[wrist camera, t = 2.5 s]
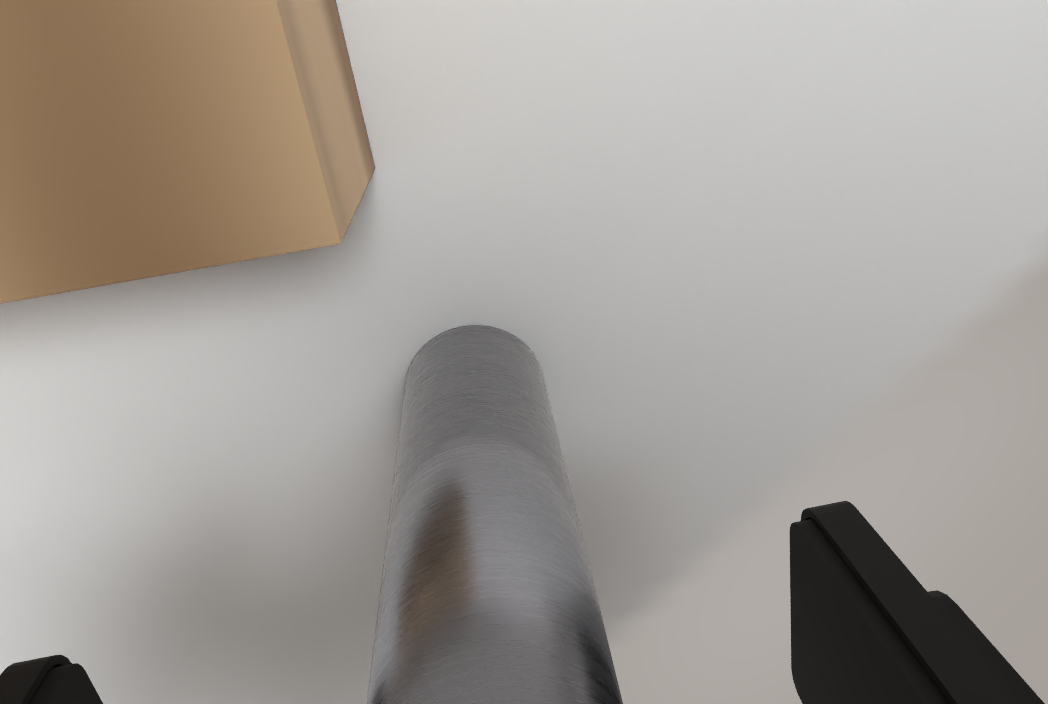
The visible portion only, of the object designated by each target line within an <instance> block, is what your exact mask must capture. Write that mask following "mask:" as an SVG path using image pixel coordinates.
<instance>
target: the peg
mask: <svg viewBox="0 0 1048 704" xmlns="http://www.w3.org/2000/svg"><path fill="white" fill-rule="evenodd" d="M367 704H623V702H622V698H621V694H620V690H619V686H618V682H617V678H616V674H615V670H614V665H613V661H612V657H611V653H610V649H609V645H608V641H607V637H606V632H605V628H604V624H603V620H602V616H601V612H600V608H599V604H598V600H597V596H596V591H595V587H594V583H593V579H592V575H591V571H590V567H589V563H588V559H587V555H586V550H585V546H584V542H583V538H582V534H581V530H580V526H579V522H578V518H577V514H576V509H575V505H574V501H573V497H572V493H571V489H570V485H569V481H568V477H567V473H566V468H565V464H564V460H563V456H562V452H561V448H560V444H559V440H558V436H557V432H556V427H555V423H554V419H553V415H552V411H551V407H550V403H549V399H548V395H547V391H546V386H545V382H544V378H543V374H542V370H541V367H540V365H539V362H538V360H537V359H536V357H535V355H534V354H533V352H532V351H531V350H530V349H529V348H528V347H527V346H526V345H525V344H524V343H523V342H522V341H521V340H519V339H518V338H517V337H515V336H513V335H512V334H510V333H508V332H506V331H503V330H500V329H497V328H493V327H488V326H475V325H471V326H463V327H458V328H454V329H451V330H448V331H446V332H443V333H441V334H440V335H438V336H436V337H434V338H433V339H431V340H430V341H429V342H428V343H426V344H425V345H424V346H423V347H422V348H421V349H420V351H419V352H418V353H417V354H416V356H415V357H414V359H413V361H412V362H411V365H410V367H409V369H408V373H407V376H406V383H405V391H404V400H403V408H402V416H401V424H400V433H399V441H398V449H397V458H396V466H395V474H394V482H393V491H392V499H391V507H390V516H389V524H388V532H387V541H386V549H385V557H384V565H383V574H382V582H381V590H380V599H379V607H378V615H377V623H376V632H375V640H374V648H373V657H372V665H371V673H370V681H369V690H368V698H367Z"/></svg>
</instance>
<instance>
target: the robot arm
mask: <svg viewBox="0 0 1048 704" xmlns="http://www.w3.org/2000/svg"><path fill="white" fill-rule="evenodd" d="M790 588H791V660H792V661H791V662H792V663H791V664H792V665H791V667H792V675H793V680H794V684H795V687H796V689H797V693H798V695H799V697H800V699H801V701H802V703H803V704H1044V703H1043V701H1042V700H1041V699H1040V698H1039V697H1038V696H1037V695H1036V693H1035V692H1034V691H1033V690H1032V689H1031V688H1030V687H1029V685H1027V683H1026V682H1025V681H1024V680H1023V679H1022V678H1021V676H1020V675H1019V674H1018V673H1017V672H1016V671H1015V670H1014V669H1013V667H1012V666H1011V665H1010V664H1009V663H1008V662H1007V661H1006V659H1005V658H1004V657H1003V656H1002V655H1001V654H1000V653H999V652H998V650H997V649H996V648H995V647H994V646H993V645H992V644H991V642H990V641H989V640H988V639H987V638H986V637H985V636H984V634H983V633H982V632H981V631H980V630H979V629H978V628H977V627H976V625H975V624H974V623H973V622H972V621H971V620H970V619H969V618H968V616H967V615H966V614H965V613H964V612H963V611H962V609H961V608H960V607H959V606H958V605H957V604H956V603H955V602H954V601H953V600H952V599H951V598H950V597H948V596H947V595H946V594H944V593H942V592H940V591H930V592H927V591H926V590H925V589H924V588H923V586H922V585H921V584H920V583H919V582H918V581H917V579H916V578H915V577H914V576H913V575H912V574H911V572H910V571H909V570H908V569H907V567H906V566H905V565H904V564H903V563H902V562H901V561H900V559H899V558H898V557H897V556H896V555H895V554H894V552H893V551H892V550H891V549H890V547H889V546H888V545H887V544H886V543H885V542H884V540H883V539H882V538H881V537H880V536H879V534H878V533H877V532H876V531H875V530H874V529H873V527H872V526H871V525H870V524H869V523H868V522H867V520H866V519H865V518H864V517H863V516H862V514H861V513H860V512H859V511H858V510H857V509H856V507H855V506H854V505H852V504H851V503H850V502H847V501H843V502H838V503H832V504H827V505H823V506H817V507H812V508H807V509H805V510H803V512H802V515H801V521H800V522H794V523H792V524H791V527H790ZM0 704H103V703H102V701H101V699H100V697H99V695H98V693H97V692H96V690H95V688H94V686H93V684H92V682H91V681H90V679H89V677H88V675H87V673H86V671H85V670H84V668H83V667H82V666H81V665H79V664H72V663H71V662H70V661H69V659H68V658H66V657H65V656H63V655H54V656H49V657H44V658H39V659H34V660H29V661H24V662H19V663H14V664H12V665H10V666H8V667H7V668H6V669H5V670H4V671H3V672H2V674H1V675H0Z"/></svg>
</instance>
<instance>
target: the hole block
mask: <svg viewBox="0 0 1048 704" xmlns="http://www.w3.org/2000/svg"><path fill="white" fill-rule="evenodd" d="M374 169H375V165H374V161H373V157H372V152H371V148H370V144H369V140H368V135H367V131H366V127H365V123H364V118H363V114H362V110H361V106H360V102H359V97H358V93H357V89H356V85H355V80H354V76H353V72H352V68H351V64H350V59H349V55H348V51H347V47H346V42H345V38H344V34H343V30H342V25H341V21H340V17H339V13H338V9H337V4H336V0H0V304H1V303H6V302H12V301H18V300H23V299H29V298H35V297H41V296H46V295H52V294H58V293H63V292H69V291H75V290H80V289H86V288H92V287H97V286H103V285H109V284H115V283H120V282H126V281H132V280H137V279H143V278H149V277H154V276H160V275H166V274H172V273H177V272H183V271H189V270H194V269H200V268H206V267H211V266H217V265H223V264H228V263H234V262H240V261H246V260H251V259H257V258H263V257H268V256H274V255H280V254H285V253H291V252H297V251H302V250H308V249H314V248H320V247H325V246H331V245H337V244H341V242H342V240H343V238H344V236H345V233H346V231H347V229H348V227H349V225H350V222H351V220H352V218H353V216H354V214H355V211H356V209H357V207H358V205H359V203H360V200H361V198H362V196H363V194H364V191H365V189H366V187H367V185H368V183H369V180H370V178H371V176H372V174H373V172H374Z"/></svg>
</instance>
